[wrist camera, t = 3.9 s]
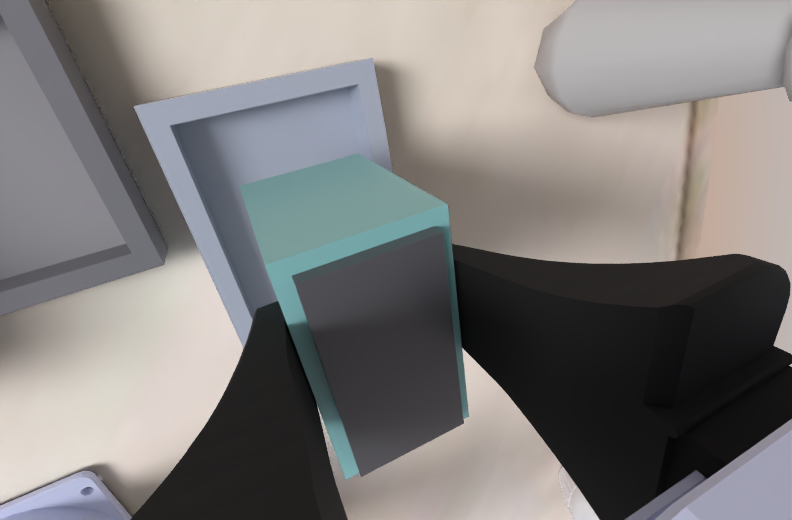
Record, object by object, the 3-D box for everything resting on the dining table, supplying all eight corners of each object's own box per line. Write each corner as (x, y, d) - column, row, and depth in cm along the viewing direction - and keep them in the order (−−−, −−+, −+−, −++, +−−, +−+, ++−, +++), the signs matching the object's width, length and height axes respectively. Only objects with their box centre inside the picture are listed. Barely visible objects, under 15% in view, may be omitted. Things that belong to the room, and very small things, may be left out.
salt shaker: (548, 135, 23) (856, 182, 12) (503, 49, 20) (862, 8, 9) (618, 62, 23) (988, 43, 12) (583, -35, 20) (1039, -179, 9)
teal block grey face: (357, 153, 14) (457, 209, 8) (391, 314, 17) (476, 425, 12) (239, 185, 12) (267, 274, 7) (300, 351, 16) (350, 492, 11)
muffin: (571, 492, 41) (631, 560, 35) (535, 491, 38) (594, 565, 32) (603, 445, 40) (671, 506, 34) (569, 440, 37) (637, 507, 31)
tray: (400, 284, 23) (416, 301, 21) (248, 343, 20) (252, 367, 18) (355, 60, 17) (372, 57, 16) (142, 103, 15) (133, 106, 13)
